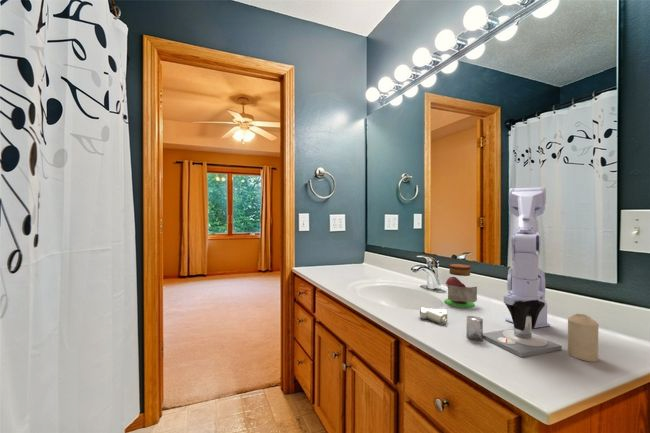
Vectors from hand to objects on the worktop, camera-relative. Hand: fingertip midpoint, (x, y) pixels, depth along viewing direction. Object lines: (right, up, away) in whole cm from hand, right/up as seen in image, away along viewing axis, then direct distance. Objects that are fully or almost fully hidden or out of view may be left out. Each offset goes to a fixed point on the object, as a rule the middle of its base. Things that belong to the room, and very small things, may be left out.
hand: (524, 328), depth 77 cm
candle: (+9, -4, -8) cm, 12 cm away
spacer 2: (0, -2, 0) cm, 2 cm away
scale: (-2, -4, -1) cm, 4 cm away
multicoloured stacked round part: (-2, -4, +34) cm, 34 cm away
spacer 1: (-12, -4, +2) cm, 13 cm away
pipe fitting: (-19, -4, +15) cm, 24 cm away
